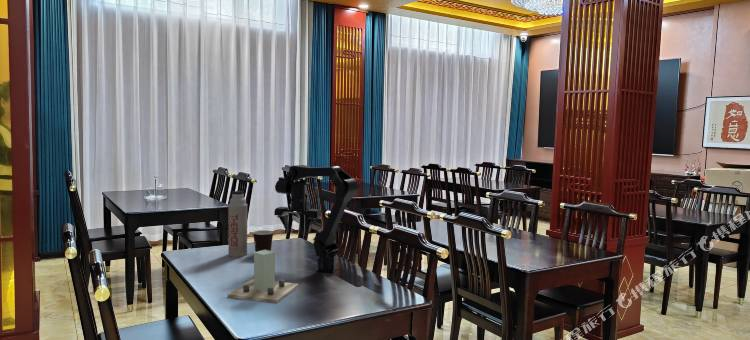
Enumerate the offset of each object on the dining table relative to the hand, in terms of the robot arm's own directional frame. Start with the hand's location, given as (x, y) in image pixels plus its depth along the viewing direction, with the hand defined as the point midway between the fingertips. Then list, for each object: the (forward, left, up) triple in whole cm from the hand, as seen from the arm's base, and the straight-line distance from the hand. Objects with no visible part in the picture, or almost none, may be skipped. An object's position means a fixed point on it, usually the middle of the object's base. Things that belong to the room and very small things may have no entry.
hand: (297, 232), depth 219 cm
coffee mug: (+20, -10, -13) cm, 26 cm away
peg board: (-3, +37, -13) cm, 39 cm away
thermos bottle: (+30, -5, -13) cm, 33 cm away
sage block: (-3, +37, -12) cm, 39 cm away
